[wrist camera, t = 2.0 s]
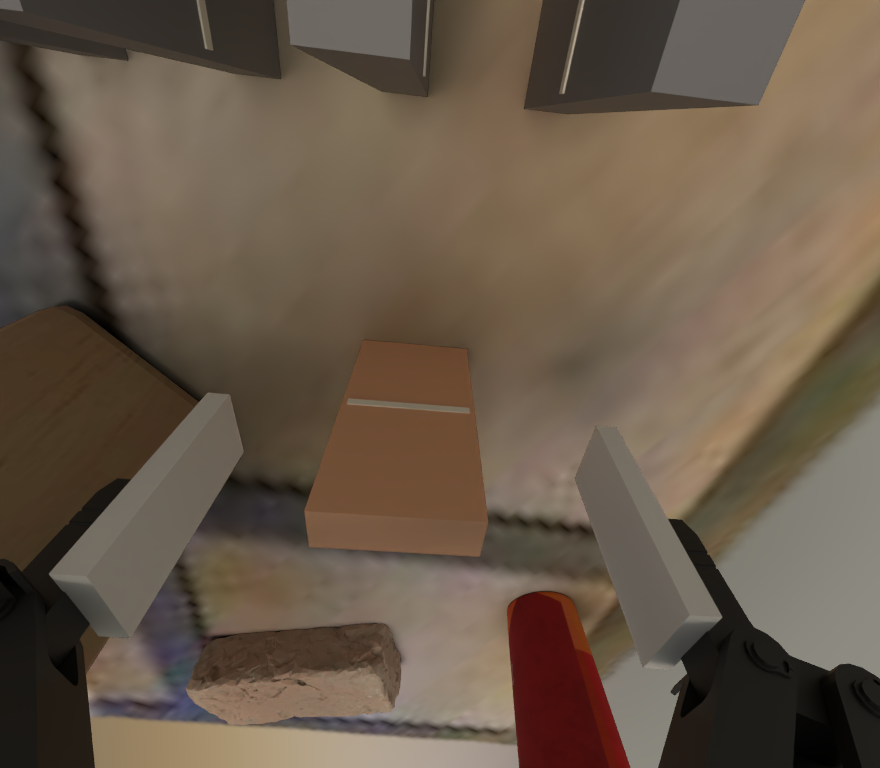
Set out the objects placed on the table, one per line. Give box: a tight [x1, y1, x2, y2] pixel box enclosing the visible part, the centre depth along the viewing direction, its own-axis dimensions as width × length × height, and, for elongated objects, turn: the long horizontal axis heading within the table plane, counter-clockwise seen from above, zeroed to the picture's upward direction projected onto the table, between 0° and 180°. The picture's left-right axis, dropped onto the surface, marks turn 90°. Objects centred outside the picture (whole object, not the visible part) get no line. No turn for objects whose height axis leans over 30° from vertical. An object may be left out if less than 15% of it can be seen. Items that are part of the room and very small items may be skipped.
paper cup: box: [507, 592, 630, 768], centre depth 27 cm, size 8×8×14 cm
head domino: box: [304, 340, 488, 557], centre depth 15 cm, size 2×5×10 cm, turn 84°
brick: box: [186, 623, 401, 725], centre depth 35 cm, size 17×8×5 cm, turn 99°
